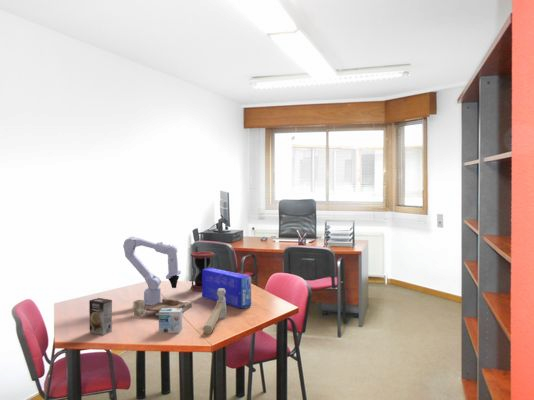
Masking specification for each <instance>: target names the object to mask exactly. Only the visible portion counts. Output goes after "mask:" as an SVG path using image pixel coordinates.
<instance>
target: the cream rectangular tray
mask: <svg viewBox="0 0 534 400" xmlns="http://www.w3.org/2000/svg"><path fill="white" fill-rule="evenodd" d="M192 303H193V302H192V301H184V300H183V301H182V300H179V304H185V306H184V307H183V308H182V314H184V312H186V311H188V310H189V309H190V308H192ZM154 314H155V316H158V317H159V312H155V313H154Z"/></svg>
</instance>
